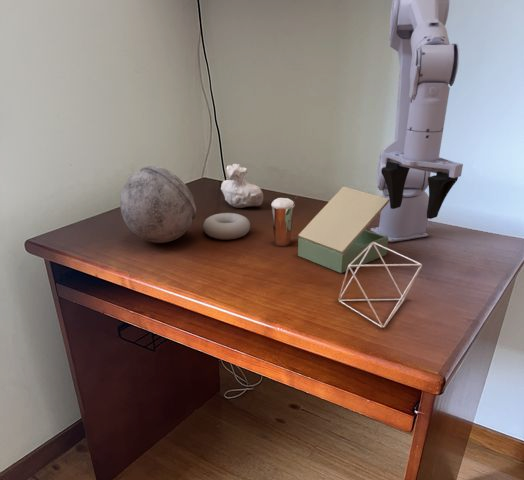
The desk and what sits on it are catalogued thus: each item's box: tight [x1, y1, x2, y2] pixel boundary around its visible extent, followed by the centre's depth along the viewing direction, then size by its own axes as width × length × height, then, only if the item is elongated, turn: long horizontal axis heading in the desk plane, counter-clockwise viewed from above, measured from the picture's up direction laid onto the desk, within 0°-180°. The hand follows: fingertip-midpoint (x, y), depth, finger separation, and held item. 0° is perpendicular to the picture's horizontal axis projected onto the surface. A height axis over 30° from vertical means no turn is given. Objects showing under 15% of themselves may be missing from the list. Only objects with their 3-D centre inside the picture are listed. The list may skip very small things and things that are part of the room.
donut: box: [202, 212, 251, 241], centre depth 116 cm, size 10×4×10 cm
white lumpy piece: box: [220, 163, 264, 209], centre depth 130 cm, size 12×8×11 cm
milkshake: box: [270, 196, 298, 247], centre depth 109 cm, size 4×5×10 cm
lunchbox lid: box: [298, 186, 390, 254], centre depth 102 cm, size 14×11×1 cm
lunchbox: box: [297, 229, 389, 274], centre depth 105 cm, size 13×11×4 cm
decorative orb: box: [119, 165, 197, 244], centre depth 109 cm, size 15×14×15 cm
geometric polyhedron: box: [338, 242, 423, 329], centre depth 85 cm, size 12×11×9 cm
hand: (413, 212), depth 95 cm, fingers open, 7 cm apart
